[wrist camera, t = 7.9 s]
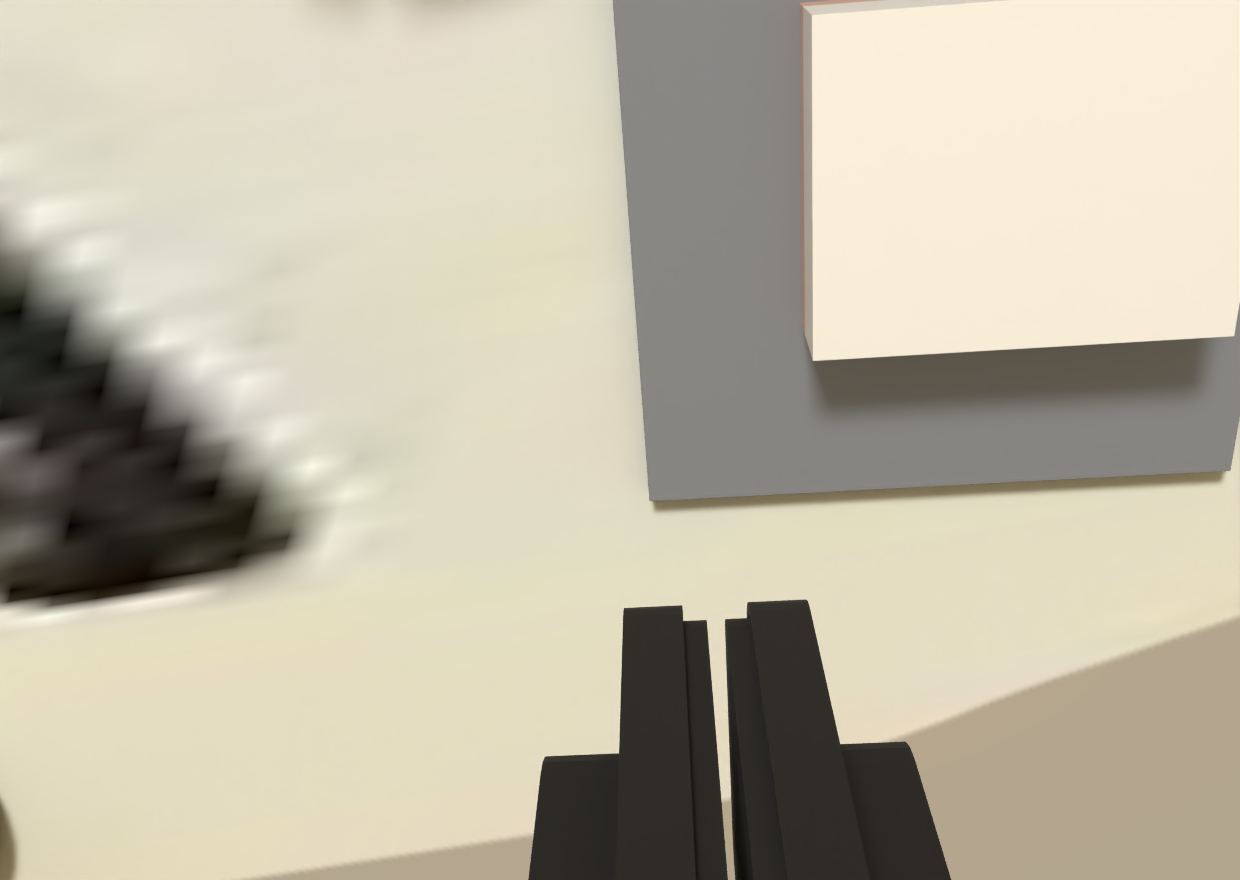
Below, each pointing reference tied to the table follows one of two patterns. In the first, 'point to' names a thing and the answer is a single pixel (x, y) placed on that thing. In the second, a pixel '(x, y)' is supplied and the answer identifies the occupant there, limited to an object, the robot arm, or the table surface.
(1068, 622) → the table surface
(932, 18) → the tile
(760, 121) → the mat
